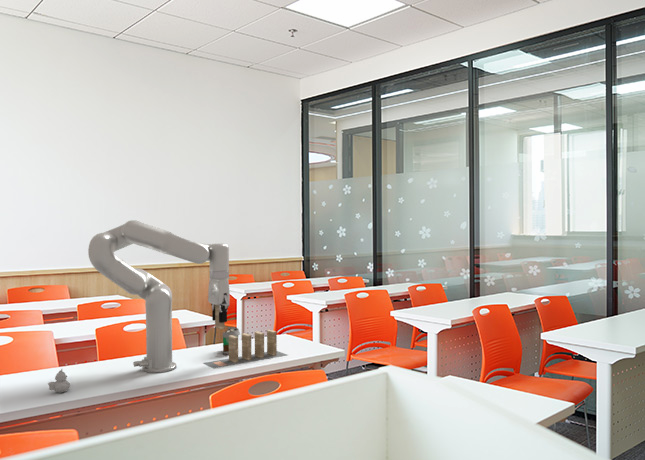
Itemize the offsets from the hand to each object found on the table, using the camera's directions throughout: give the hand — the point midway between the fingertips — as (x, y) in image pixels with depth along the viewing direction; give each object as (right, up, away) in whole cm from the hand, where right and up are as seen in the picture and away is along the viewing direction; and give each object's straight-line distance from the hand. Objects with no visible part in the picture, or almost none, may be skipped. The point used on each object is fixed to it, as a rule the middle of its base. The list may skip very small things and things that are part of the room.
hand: (219, 320), depth 215 cm
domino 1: (0, -3, 0) cm, 3 cm away
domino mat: (+10, -17, +7) cm, 21 cm away
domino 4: (+14, -17, +11) cm, 25 cm away
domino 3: (+10, -17, +7) cm, 21 cm away
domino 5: (+19, -17, +15) cm, 29 cm away
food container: (+2, -17, +19) cm, 26 cm away
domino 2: (+5, -17, +4) cm, 18 cm away
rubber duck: (-47, -18, -34) cm, 61 cm away
